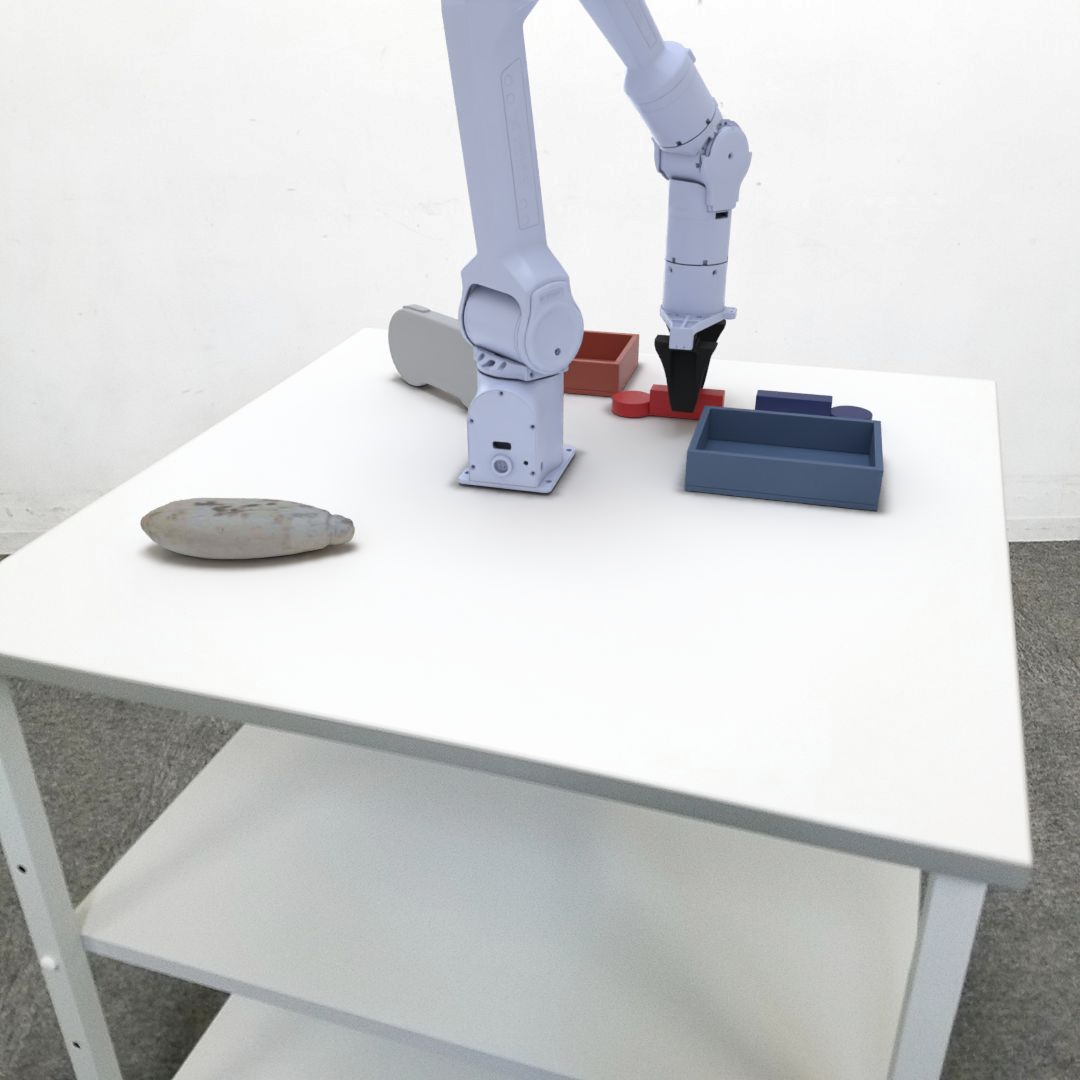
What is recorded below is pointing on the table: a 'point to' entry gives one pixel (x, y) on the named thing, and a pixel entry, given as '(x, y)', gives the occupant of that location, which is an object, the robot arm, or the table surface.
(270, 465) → the table surface
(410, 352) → the game controller
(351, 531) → the decorative stone
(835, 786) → the table surface
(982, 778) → the table surface
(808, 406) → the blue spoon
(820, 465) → the blue bin
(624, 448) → the table surface
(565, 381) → the red bin
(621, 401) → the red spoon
